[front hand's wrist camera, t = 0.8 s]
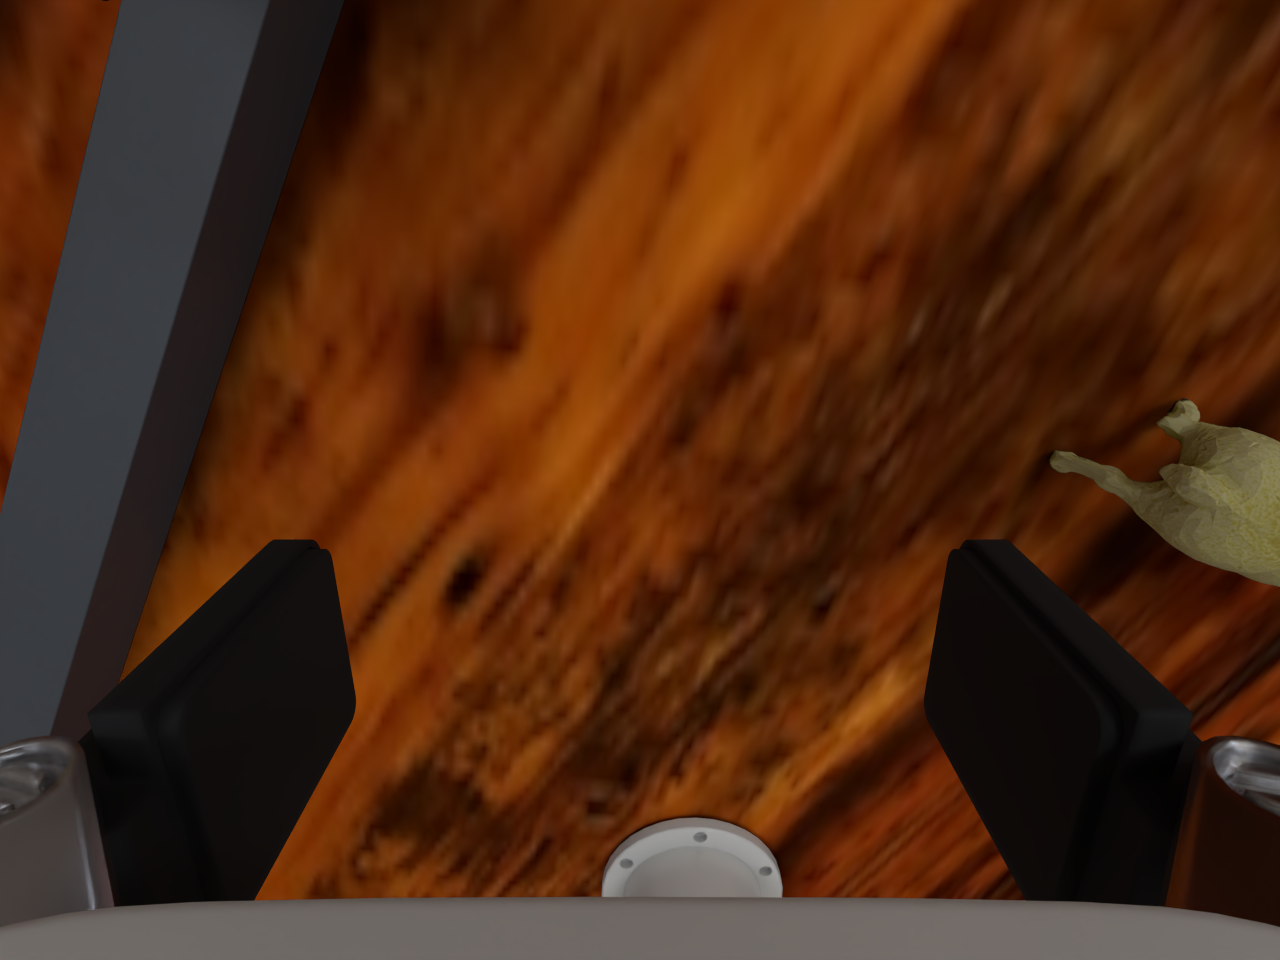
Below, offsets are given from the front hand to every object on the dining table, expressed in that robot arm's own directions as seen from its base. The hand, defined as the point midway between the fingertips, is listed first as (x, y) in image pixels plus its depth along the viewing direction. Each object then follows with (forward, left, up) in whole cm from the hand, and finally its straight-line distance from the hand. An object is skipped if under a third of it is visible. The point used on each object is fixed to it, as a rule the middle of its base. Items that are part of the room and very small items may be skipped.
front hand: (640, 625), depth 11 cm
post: (-10, +27, -28) cm, 40 cm away
